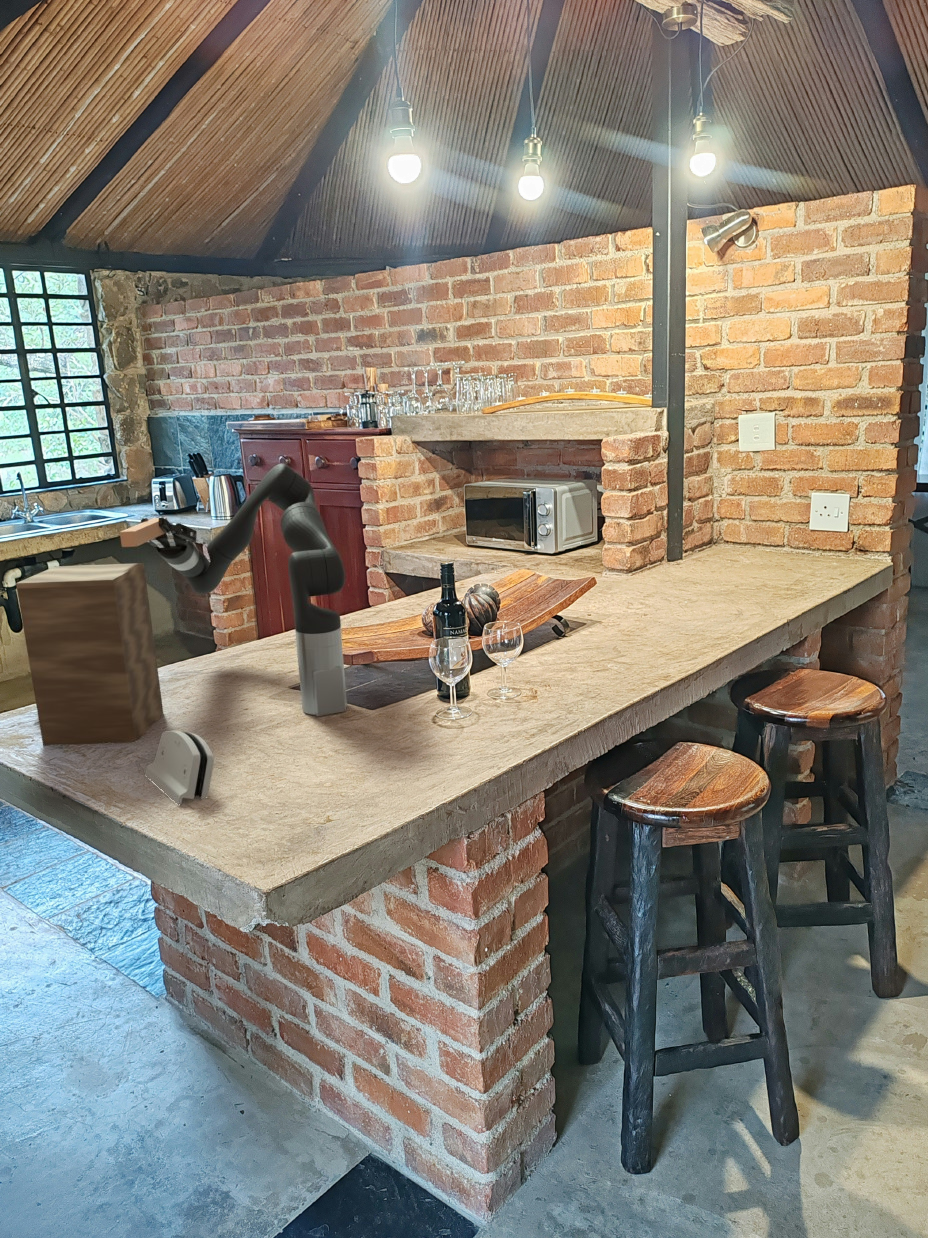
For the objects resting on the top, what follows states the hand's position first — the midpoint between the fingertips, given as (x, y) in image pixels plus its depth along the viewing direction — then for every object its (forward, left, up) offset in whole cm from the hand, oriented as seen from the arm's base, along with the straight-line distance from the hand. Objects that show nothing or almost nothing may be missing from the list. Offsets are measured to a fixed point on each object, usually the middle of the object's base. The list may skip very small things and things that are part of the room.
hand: (152, 521), depth 192 cm
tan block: (-4, +2, -3) cm, 5 cm away
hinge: (-50, +6, -39) cm, 64 cm away
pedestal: (-14, +16, -39) cm, 44 cm away
